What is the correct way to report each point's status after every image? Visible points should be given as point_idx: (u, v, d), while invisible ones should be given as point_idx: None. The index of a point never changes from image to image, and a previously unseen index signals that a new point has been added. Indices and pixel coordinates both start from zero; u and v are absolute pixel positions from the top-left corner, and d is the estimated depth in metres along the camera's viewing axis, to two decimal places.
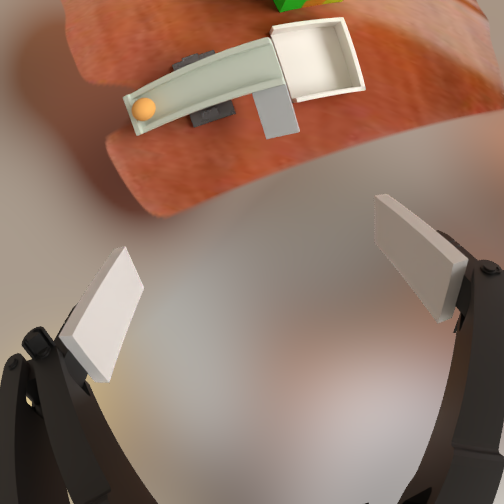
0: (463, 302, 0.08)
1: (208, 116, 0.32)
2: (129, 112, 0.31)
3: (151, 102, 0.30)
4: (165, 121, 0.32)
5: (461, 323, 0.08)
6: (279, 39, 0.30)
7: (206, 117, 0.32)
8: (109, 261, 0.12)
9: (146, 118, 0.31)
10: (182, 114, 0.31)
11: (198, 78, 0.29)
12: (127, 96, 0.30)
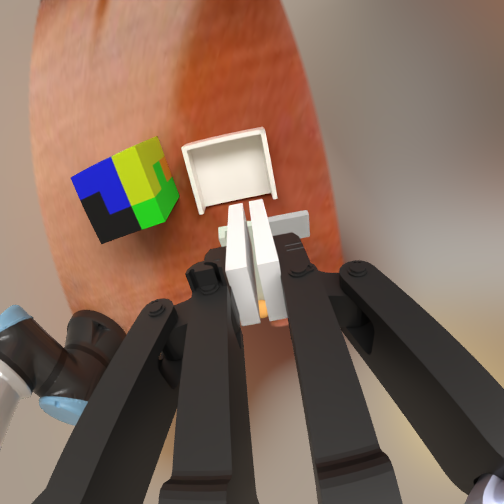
0: None
1: None
2: None
3: None
4: None
5: None
6: (210, 199, 0.42)
7: None
8: (234, 213, 0.14)
9: None
10: None
11: None
12: None
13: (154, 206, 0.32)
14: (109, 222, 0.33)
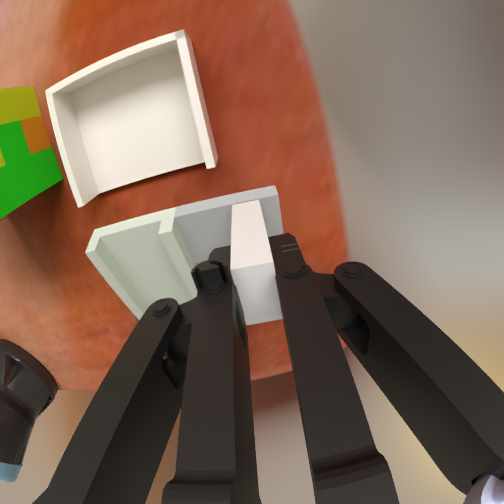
0: None
1: None
2: None
3: None
4: None
5: None
6: (104, 180, 0.21)
7: None
8: (238, 213, 0.14)
9: None
10: None
11: None
12: None
13: None
14: None
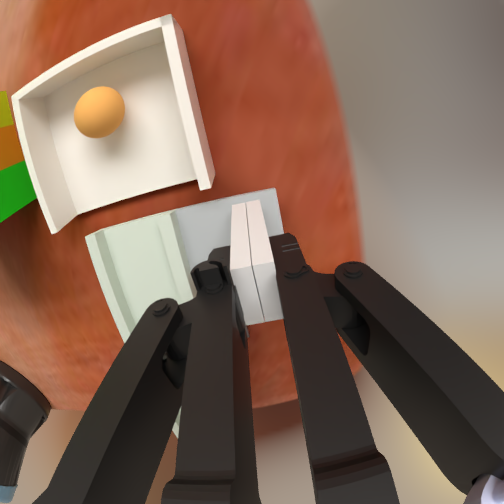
0: (280, 303, 0.10)
1: None
2: None
3: None
4: None
5: None
6: (82, 199, 0.17)
7: None
8: (238, 213, 0.14)
9: (124, 107, 0.14)
10: None
11: None
12: None
13: None
14: None
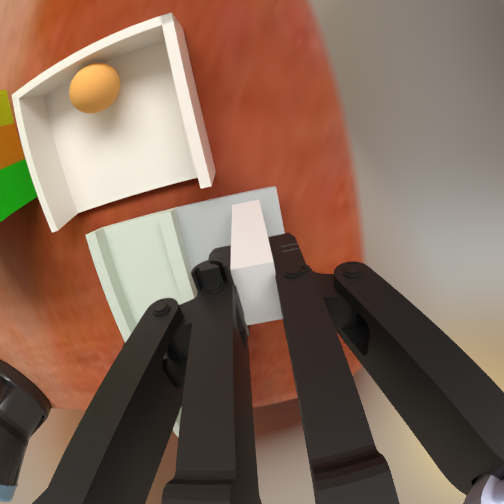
0: None
1: None
2: None
3: (77, 90, 0.11)
4: None
5: None
6: (82, 198, 0.17)
7: None
8: (238, 213, 0.14)
9: (114, 87, 0.12)
10: None
11: None
12: None
13: None
14: None
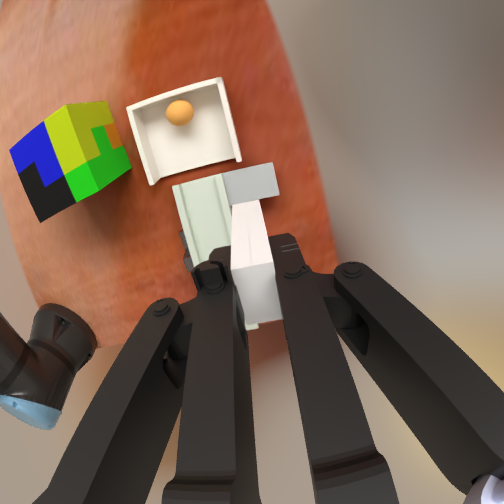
0: None
1: None
2: None
3: (174, 117, 0.27)
4: None
5: None
6: (165, 168, 0.33)
7: None
8: (238, 213, 0.14)
9: (192, 114, 0.29)
10: None
11: None
12: None
13: (87, 173, 0.24)
14: (45, 196, 0.24)
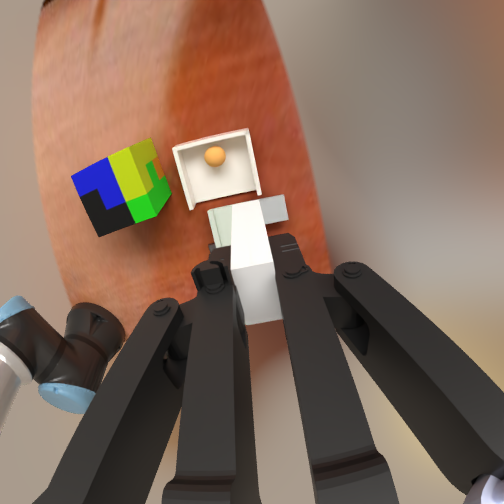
0: None
1: None
2: None
3: (212, 162, 0.39)
4: None
5: None
6: (199, 196, 0.45)
7: None
8: (238, 213, 0.14)
9: None
10: None
11: None
12: None
13: (146, 202, 0.35)
14: (106, 216, 0.35)
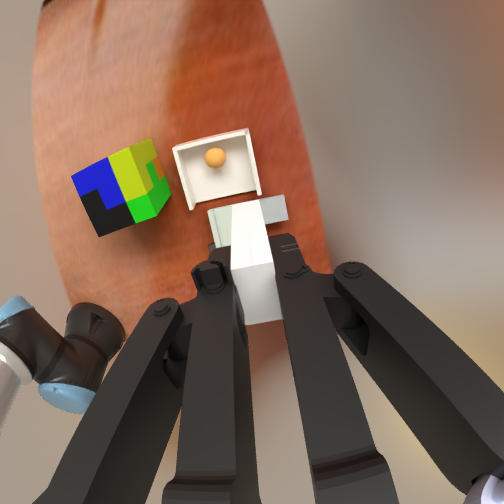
0: None
1: None
2: None
3: (213, 165, 0.39)
4: None
5: None
6: (199, 196, 0.45)
7: None
8: (238, 213, 0.14)
9: (225, 160, 0.40)
10: None
11: None
12: None
13: (146, 202, 0.35)
14: (106, 216, 0.35)
